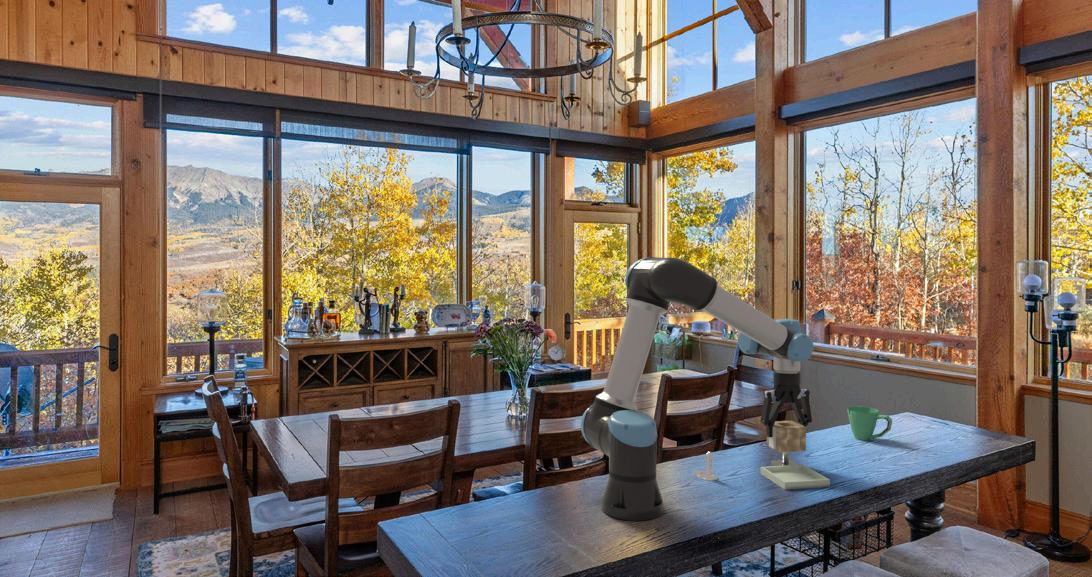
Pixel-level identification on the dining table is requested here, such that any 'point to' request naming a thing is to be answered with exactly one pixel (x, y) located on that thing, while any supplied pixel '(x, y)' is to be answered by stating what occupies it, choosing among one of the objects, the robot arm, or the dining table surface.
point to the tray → (795, 477)
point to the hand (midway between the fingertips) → (785, 446)
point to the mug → (866, 422)
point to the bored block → (789, 436)
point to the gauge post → (783, 460)
